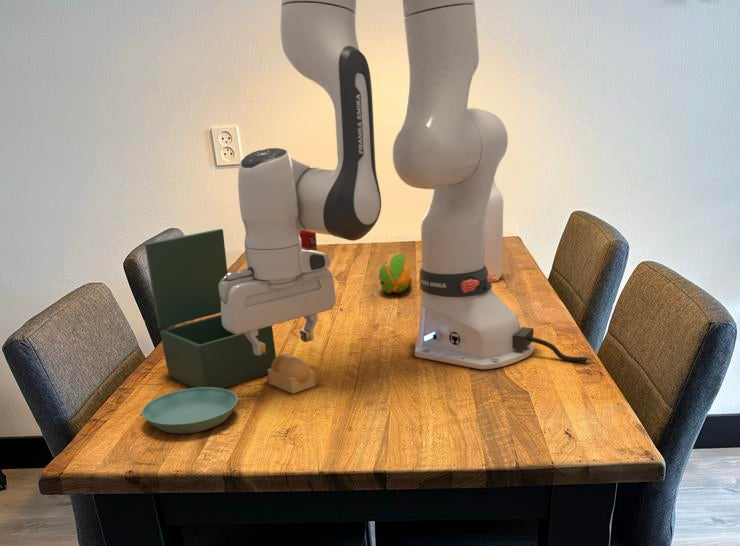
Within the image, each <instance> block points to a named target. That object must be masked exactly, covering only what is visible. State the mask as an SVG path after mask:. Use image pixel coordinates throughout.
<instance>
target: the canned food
mask: <svg viewBox="0 0 740 546" xmlns="http://www.w3.org/2000/svg"><path fill="white" fill-rule="evenodd" d="M299 235H300V238H301V246H302V248H307V249H310V250H314V251H318V246H317V245H318V243H317V233H312V232H309V231H301V232H300V233H299Z"/></svg>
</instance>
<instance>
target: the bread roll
mask: <svg viewBox="0 0 740 546" xmlns="http://www.w3.org/2000/svg"><path fill="white" fill-rule="evenodd" d="M267 375H268V384H269V385H271V386H273V387H276V388H279V389H281V390H283V391H286V392H288V393H291V394H297V393H298V392H301V391H305V390H307V389H310V388H313V387H316V386H317V385H316V384H317V383H316V374H315V370H312V369H311V368H310V366H309V364H308V363H307V362H306V361H305V360H304V359H301V358H299V357H295V356H293V355H291V354H286V353H285V354H279V355H276V358H275V359H274V360H273V362H272V366H271V369H268V374H267Z"/></svg>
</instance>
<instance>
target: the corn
mask: <svg viewBox="0 0 740 546" xmlns="http://www.w3.org/2000/svg"><path fill="white" fill-rule="evenodd" d="M386 264H387V261H385V262H384V263H383V264H382V265H381V267H380V268H379V276H378V280H380V286H381V288H382V290H383V291H384V292H385V293H387V294H388V295H390V294H391V293H395V294H401V293H403V292H405V291H406V290H407V289H408V288H409V287H410V286H411V283H412V277H411V265H410V264H409V262H408V261H407V259H406V256H405V255H404V254H402V253H397V254H394V255H393V256H392V257H391V260H390V262H389V264H388V265H387V266H386Z"/></svg>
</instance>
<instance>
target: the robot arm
mask: <svg viewBox="0 0 740 546" xmlns="http://www.w3.org/2000/svg"><path fill="white" fill-rule="evenodd" d="M280 6H281V7H280V8H281V9H280V38H281V44H282V51H283V53H284V55H285V57H286V59H287V61H288V62H289V64H291V66H292V67H293V68H294V70H296V71H297V72H298V73H299V74H300V75H301V76H303V77H304V78H306V79H307V80H309V81H311V82H312V83H314V84H317V85H318V86H319V87H320V88H322V89H323V90H324V91H325V92H326V93H327V95H328V96H329V98H330V100H331V102H332V105H333V108H334V109H333V110H334V117H335V118H334V119H335V136H336V137H335V138H336V153H337V162H336V163H337V164H336V167H335V168H321V167H316V166H315V167H314V166H313V167H312V166H311V165H307V164H304V163H301V162H300V161H298V160H296V159H295V158H293V157H292V156H291V155H290V154H289V152H288V150H287V149H284V148H280V147H270V148H265V149H259V150H256V151H252V152H250V153H248V154H247V155H246V156H244V157H243V158H242V159H241V160H240V163H239V165H238V166H239V167H238V172H237V173H238V175H237V189H238V190H237V191H238V201H239V211H240V217H241V220H242V223H243V225H244V226H243V227H244V231H245V235H244V250H245V259H246V267H247V268H244V269H241V270H237V271H230V272H227V274H225V277H223V278H222V279H221V281H220V282H219V285H218V288H219V295H220V298H221V313H220V315H221V320H222V326H223V327H224V328H225V329H226V330H227V331H229V332H231V333H233V334H241V333H244V334H245V336H246V337H247V338H248V340H249V341H250V342H251V344H252V346H253V352H254V354H255V355H257V356H259V355H262V354H266V350H265V348H266V346H265V344H264V343H262V342H259V341H258V339H257V338H256V337H255V336H257V335H258V329H260V328H263V327H267V326H271V325H272V326H275V325H279V324H282V323H286V322H290V321H294V320H297V319H302V318H303V319H305V324H304V327H303V328H302V329H300V330H299V334H300V340H301V341H302V342H304V343H308V342H313V341H314V330H315V328H316V325H317V323H318V320H319V317H318V316H319V315H318V314H321V313H325V312H328V311H331V310H333V308H334V307H335V304H336V288H335V281H334V276H333V273H332V272H331V270H330V269H329V267H330V264H331V259H330V255H329V254H327V253H324V252H321V251H318V250H317V251H314V250H310V249H307V248H302V246H301V238H300V235H299V233H300V232H301V231H309V232H312V233H316V234H321V235H328V236H329V235H330V236H333V237H334V238H335V237H336V238H339V239H344V240H347V241H351V242H353V241H354V242H355V241H359V240H361V239H362V238H364V237H365V236H366V235H368V233H370V231H371V230H372V229H373V228H374V227H375V225H376V224H377V222H378V220H379V218H380V215H381V211H382V196H381V195H382V194H381V189H380V185H379V180H378V174H377V166H376V165H377V164H376V146H375V126H374V125H375V124H374V104H373V89H372V78H371V70H370V67H369V63H368V59H367V58H366V56H365V55H364V53H362V51H361V50H360V47H359V43H358V39H357V31H356V16H357V0H281V5H280ZM402 10H403V11H402V12H403V19H404V29H405V31H404V32H405V40H406V49H407V62H408V91H407V101H406V105H405V106H406V107H405V114H404V118H403V122H402V125H401V127H400V129H399V131H398V133H397V135H396V137H395V139H394V141H393V144H392V153H391V156H392V164H393V167H394V170H395V172H396V174H397V176H398V178H399V179H400V180H401V181H402V182H403V183H404V184H405V185H407V186H409V187H412V188H415V189H422V190H433V193H432V198H431V200H430V204H429V206H428V208H427V211H426V213H425V214H424V216H423V217H422V220H421V224H420V225H421V226H420V239H421V240H420V241H421V242H420V243H421V268H420V269H419V277H418V281H419V289H420V290H421V302H420V309H419V315H418V316H419V319H418V330H417V336H416V341H415V344H414V347H415V349H414V356H415V357H416V358H420V359H424V360H425V359H426V360H431V361H435V362H441V363H445V364H450V365H451V364H452V365H456V366H460V367H466V368H472V369H476V370H492V369H498V368H503V367H506V366H509V365H512V364H515V363H518V362H520V361H522V360H525V359H526V358H529V357H530V356H532V354H533V353H534V351H535V348H534V347H535V346H534V344H532V343H535V344H539V345H541V346H544V347H546V348H548V349H550V350H551V351H552V352H553V353H554V354H555V355H556V356H557V357H558V358H559V359H561V360H564V361H567V362H570V363H571V362H572V363H575V362H576V363H587V361H588V357H584V356H569V355H565V354H563V353H562V352H561V351H560V350H559V349H558V347H556V346H555V345H554V344H553V343H551V342H549V341H547V340H544V339H541V338H538V337H534V329H535V328H533V327H524V326H522V327H521V325H520V320H519V318H518V316H517V315H516V313H514V311H512V309H510V308H509V307H508V305H506V303H505V302H504V301H503V300H502V299H501V298H500V297H499V296H498V294H496V293H495V292H494V291H493V289H492V288H493V285H492V283H493V282H492V281H494V282H496V281H495V280H496V279H492V278H493V277H495V276H496V274H493V275H489V274H488V271H487V268H486V266H485V265H484V249H485V223H486V215H487V209H488V204H489V199H490V195H491V191H492V187H493V182H494V179H496V174H497V171H498V169H499V166H500V164H501V162H502V160H503V159H504V157H505V155H506V152H507V149H508V143H509V137H508V136H509V135H508V132H507V128H506V126H505V124H504V122H503V121H502V119H501V118H500V117H499V116H498V115H496V114H495V113H493V112H491V111H487V110H485V109H480V108H476V107H475V108H474V107H470V108H469V107H468V105H469V95H470V90H471V84H472V80H473V77H474V75H475V73H476V71H477V70H478V68H479V67H478V66H479V62H480V53H479V52H480V51H479V39H478V38H479V37H478V26H477V14H476V2H475V0H402ZM225 279H226V280H227V281H224V280H225Z"/></svg>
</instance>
